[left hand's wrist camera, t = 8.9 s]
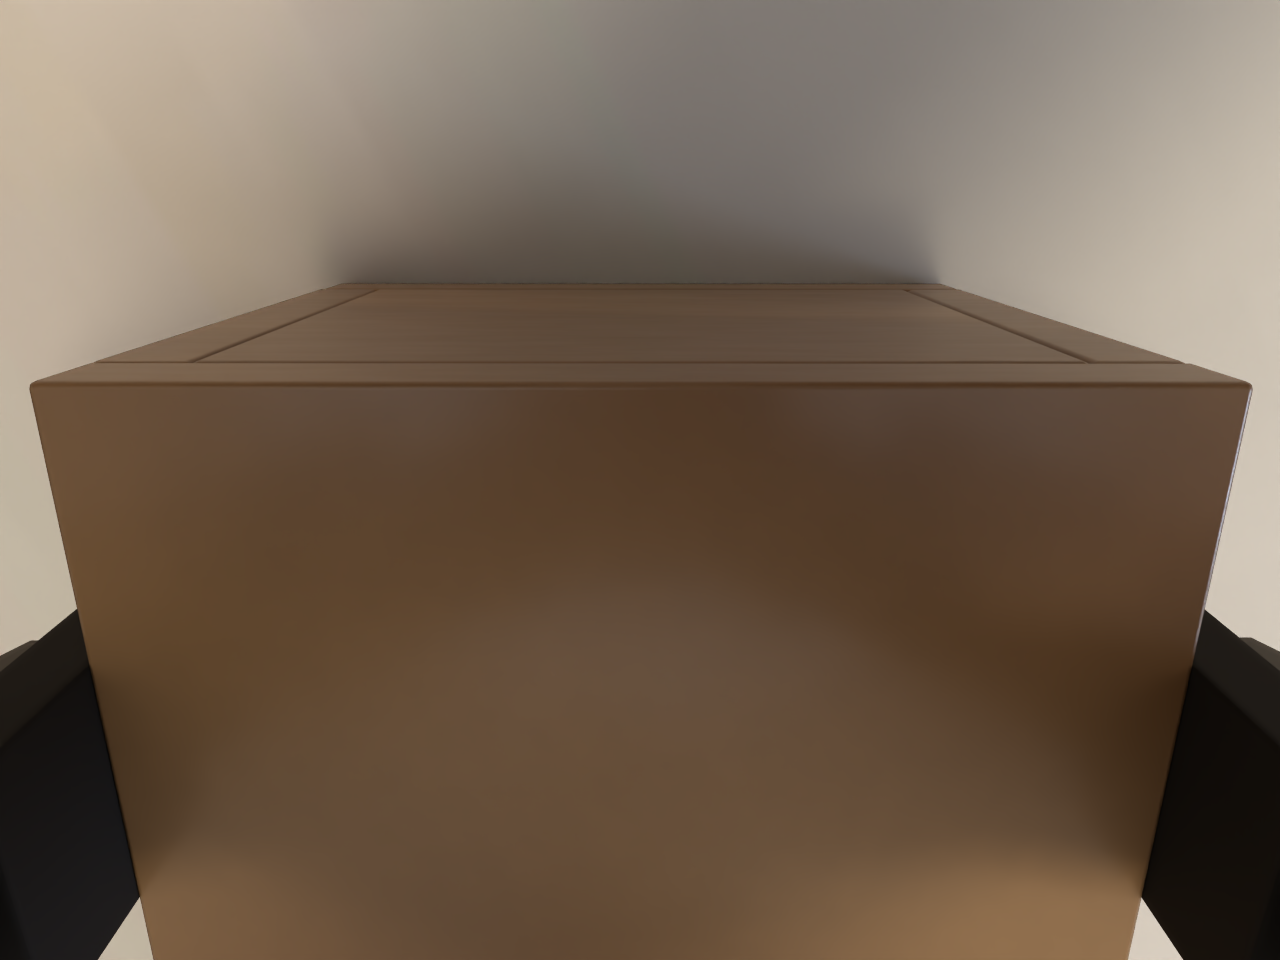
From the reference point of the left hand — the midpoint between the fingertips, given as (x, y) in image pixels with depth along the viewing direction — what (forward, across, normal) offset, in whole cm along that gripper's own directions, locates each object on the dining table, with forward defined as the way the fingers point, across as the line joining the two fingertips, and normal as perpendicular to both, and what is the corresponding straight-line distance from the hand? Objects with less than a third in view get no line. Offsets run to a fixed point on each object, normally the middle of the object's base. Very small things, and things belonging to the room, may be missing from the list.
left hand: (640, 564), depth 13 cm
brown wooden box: (+3, 0, -6) cm, 6 cm away
